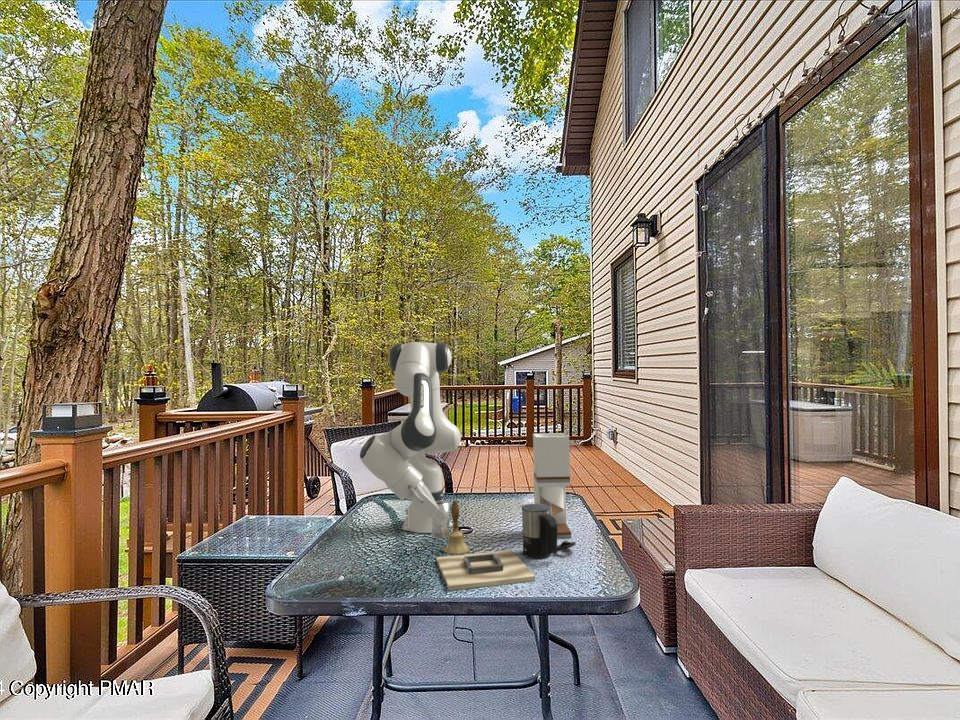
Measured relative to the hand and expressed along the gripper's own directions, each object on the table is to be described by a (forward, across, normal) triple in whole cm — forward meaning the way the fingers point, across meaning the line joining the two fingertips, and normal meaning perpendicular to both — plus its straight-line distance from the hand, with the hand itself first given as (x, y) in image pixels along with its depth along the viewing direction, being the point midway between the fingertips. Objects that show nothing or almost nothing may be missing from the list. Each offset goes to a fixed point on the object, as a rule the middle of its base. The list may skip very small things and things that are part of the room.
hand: (442, 515), depth 141 cm
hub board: (+20, +1, +4) cm, 21 cm away
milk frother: (+37, +9, -13) cm, 40 cm away
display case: (+43, +27, -18) cm, 54 cm away
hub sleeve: (+3, 0, +4) cm, 5 cm away
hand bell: (+18, +20, +7) cm, 27 cm away
